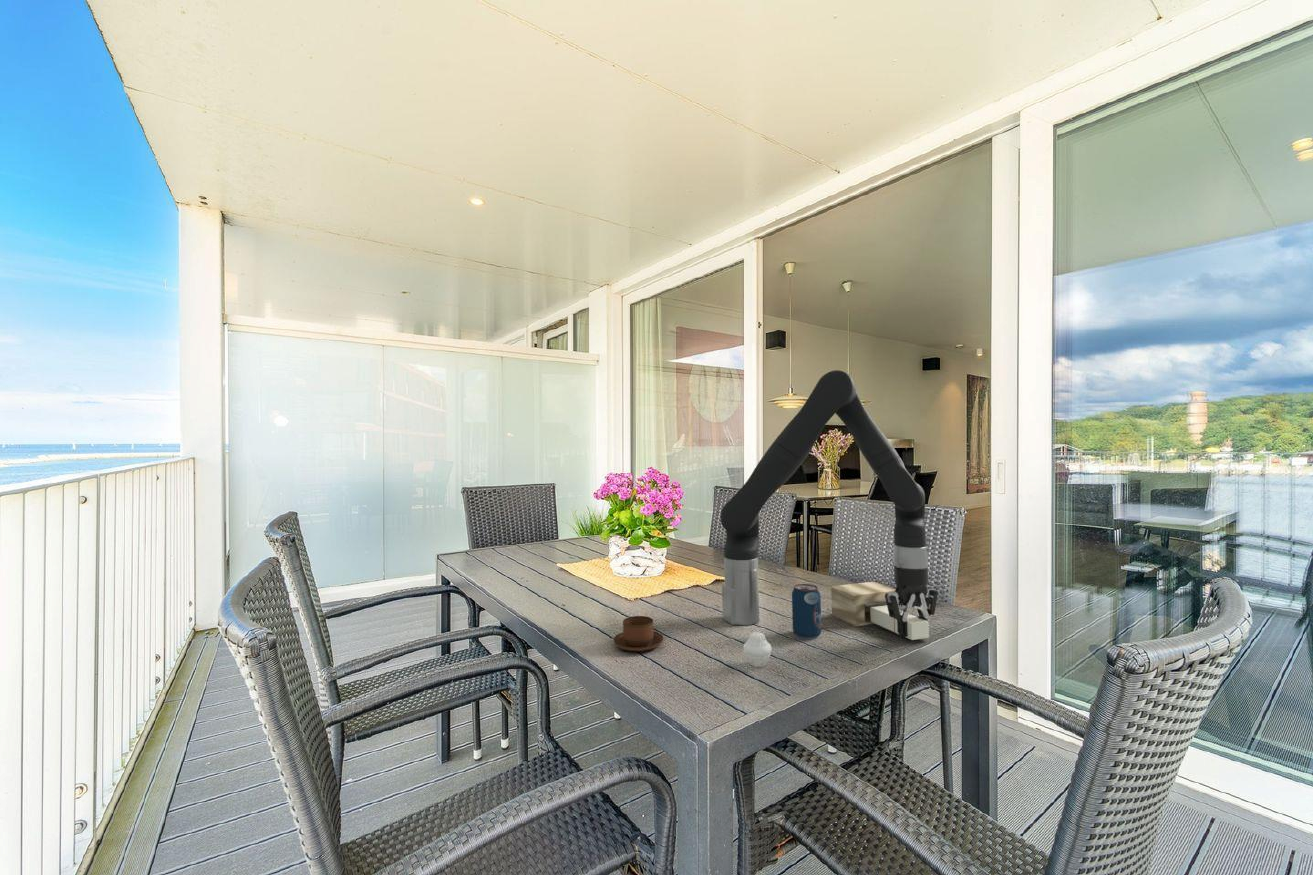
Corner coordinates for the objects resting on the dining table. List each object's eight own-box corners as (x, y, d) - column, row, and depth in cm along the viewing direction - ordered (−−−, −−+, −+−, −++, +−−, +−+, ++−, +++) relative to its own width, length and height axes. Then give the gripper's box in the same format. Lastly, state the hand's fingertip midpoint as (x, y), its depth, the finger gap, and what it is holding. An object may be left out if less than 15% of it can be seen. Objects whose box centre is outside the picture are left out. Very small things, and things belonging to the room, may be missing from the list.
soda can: (823, 640, 129) (821, 590, 129) (793, 639, 130) (792, 589, 130) (820, 630, 136) (818, 583, 136) (792, 629, 137) (790, 582, 137)
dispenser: (857, 627, 137) (856, 596, 138) (831, 615, 148) (831, 586, 148) (901, 621, 141) (900, 590, 142) (873, 609, 152) (873, 581, 152)
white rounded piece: (753, 672, 112) (753, 638, 112) (738, 661, 117) (737, 629, 117) (778, 666, 114) (777, 634, 114) (761, 656, 120) (760, 625, 120)
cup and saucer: (607, 642, 131) (606, 617, 131) (652, 634, 136) (651, 610, 136) (623, 659, 120) (622, 631, 120) (671, 650, 125) (670, 624, 125)
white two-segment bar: (912, 640, 125) (911, 623, 125) (870, 621, 139) (870, 606, 139) (929, 637, 127) (928, 621, 127) (886, 619, 141) (886, 604, 141)
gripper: (922, 558, 134) (924, 626, 134) (875, 563, 130) (877, 632, 130) (946, 564, 127) (948, 636, 127) (897, 569, 123) (899, 643, 123)
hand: (912, 634), depth 128 cm, fingers closed on white two-segment bar, 5 cm apart
